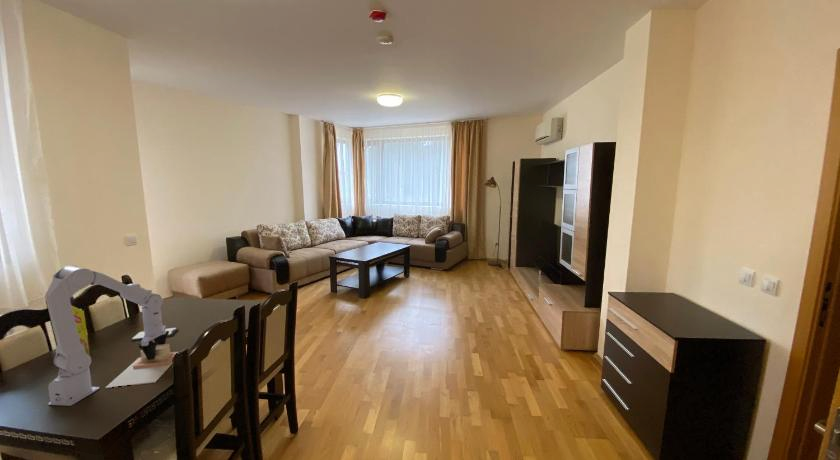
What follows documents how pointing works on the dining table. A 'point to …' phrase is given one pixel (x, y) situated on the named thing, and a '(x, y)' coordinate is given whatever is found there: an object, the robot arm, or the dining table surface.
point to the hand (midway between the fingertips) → (156, 354)
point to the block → (158, 354)
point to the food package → (81, 327)
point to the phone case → (141, 334)
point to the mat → (138, 375)
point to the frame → (140, 365)
